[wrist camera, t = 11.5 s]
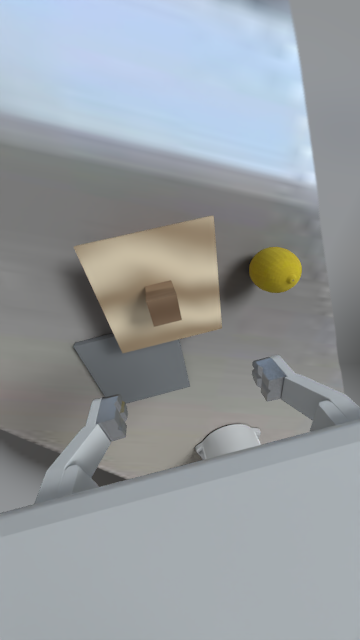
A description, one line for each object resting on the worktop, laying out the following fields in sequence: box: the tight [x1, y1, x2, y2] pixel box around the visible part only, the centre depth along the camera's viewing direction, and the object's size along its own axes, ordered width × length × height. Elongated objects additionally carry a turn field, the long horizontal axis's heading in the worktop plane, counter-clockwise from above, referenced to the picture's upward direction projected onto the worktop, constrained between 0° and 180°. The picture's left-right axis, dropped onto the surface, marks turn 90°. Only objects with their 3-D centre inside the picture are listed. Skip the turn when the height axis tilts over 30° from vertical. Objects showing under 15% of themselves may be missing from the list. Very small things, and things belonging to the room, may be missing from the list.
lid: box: [74, 216, 222, 353], centre depth 21 cm, size 14×14×5 cm
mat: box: [74, 333, 190, 403], centre depth 35 cm, size 16×16×1 cm
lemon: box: [249, 247, 302, 293], centre depth 25 cm, size 6×6×8 cm
